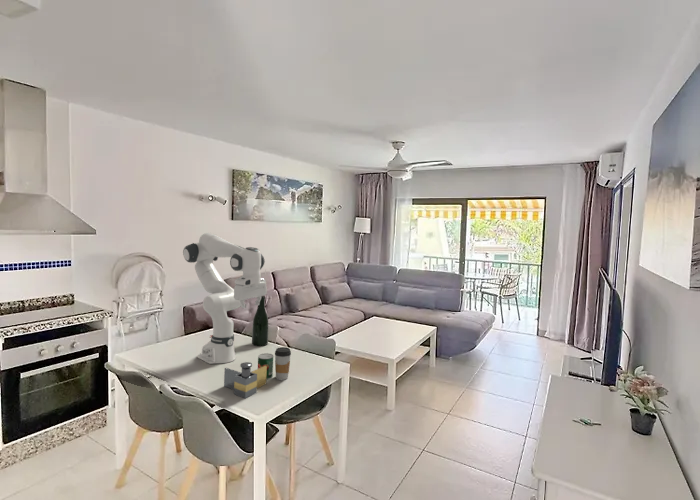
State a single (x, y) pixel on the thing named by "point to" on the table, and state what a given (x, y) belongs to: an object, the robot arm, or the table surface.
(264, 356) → the canned tomato
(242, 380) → the hinge leaves
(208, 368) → the table surface
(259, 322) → the green wine bottle
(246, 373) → the hinge pin
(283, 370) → the coffee cup
